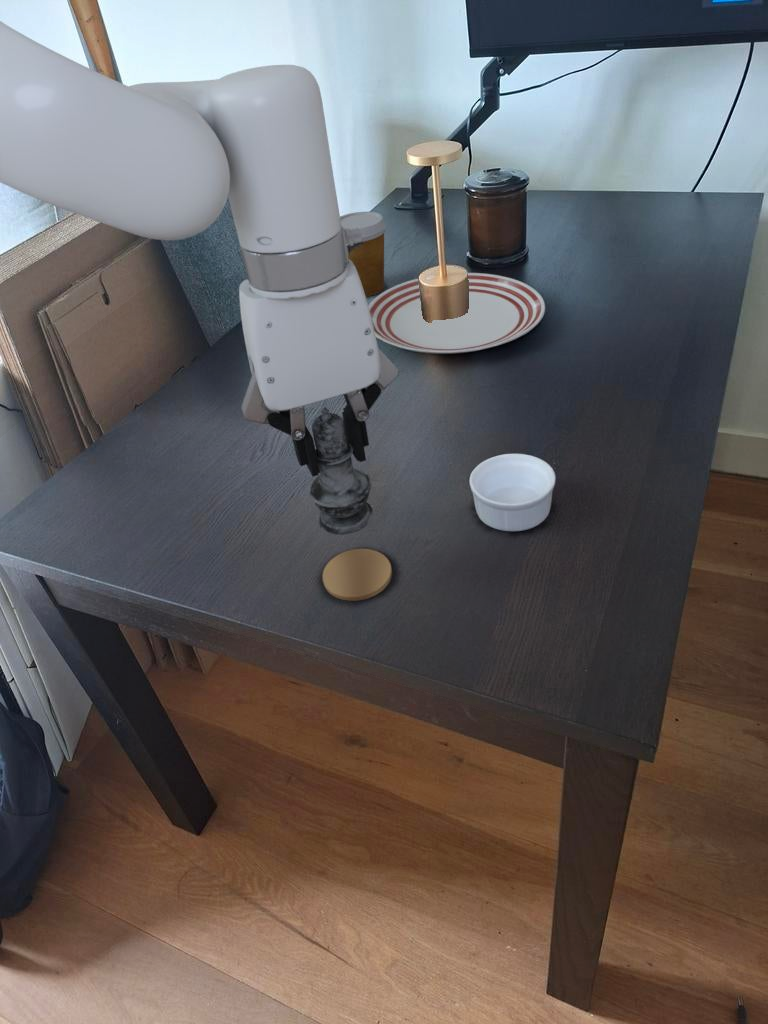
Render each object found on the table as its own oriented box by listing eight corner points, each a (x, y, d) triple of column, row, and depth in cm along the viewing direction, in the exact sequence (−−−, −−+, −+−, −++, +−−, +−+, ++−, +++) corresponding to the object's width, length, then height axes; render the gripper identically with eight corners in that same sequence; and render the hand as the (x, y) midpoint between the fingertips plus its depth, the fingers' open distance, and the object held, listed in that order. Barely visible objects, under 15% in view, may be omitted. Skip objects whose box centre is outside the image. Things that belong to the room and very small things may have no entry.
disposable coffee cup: (376, 274, 138) (367, 206, 130) (403, 289, 131) (395, 219, 124) (330, 289, 135) (318, 221, 127) (355, 306, 128) (344, 235, 120)
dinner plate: (556, 290, 123) (557, 270, 121) (528, 374, 104) (528, 352, 101) (396, 288, 132) (394, 270, 130) (342, 365, 112) (338, 345, 110)
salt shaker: (388, 506, 72) (372, 397, 65) (353, 543, 69) (332, 432, 61) (338, 491, 75) (317, 384, 68) (302, 526, 71) (276, 417, 64)
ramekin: (522, 548, 77) (522, 515, 74) (454, 516, 82) (452, 484, 79) (571, 502, 82) (572, 470, 79) (503, 475, 87) (502, 443, 84)
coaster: (335, 610, 73) (334, 605, 73) (315, 565, 79) (314, 561, 78) (402, 586, 75) (401, 582, 74) (378, 544, 80) (377, 540, 80)
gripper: (382, 220, 61) (405, 415, 72) (178, 270, 57) (236, 466, 69) (417, 248, 55) (436, 455, 67) (193, 305, 52) (254, 512, 63)
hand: (334, 459), depth 68 cm, fingers closed on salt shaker, 3 cm apart
